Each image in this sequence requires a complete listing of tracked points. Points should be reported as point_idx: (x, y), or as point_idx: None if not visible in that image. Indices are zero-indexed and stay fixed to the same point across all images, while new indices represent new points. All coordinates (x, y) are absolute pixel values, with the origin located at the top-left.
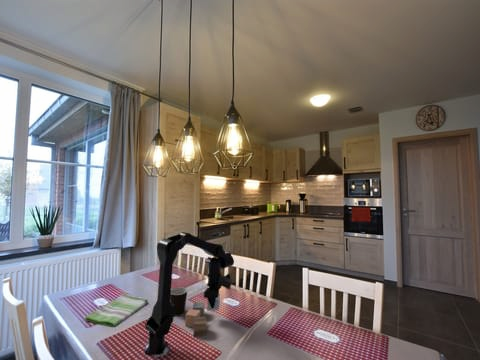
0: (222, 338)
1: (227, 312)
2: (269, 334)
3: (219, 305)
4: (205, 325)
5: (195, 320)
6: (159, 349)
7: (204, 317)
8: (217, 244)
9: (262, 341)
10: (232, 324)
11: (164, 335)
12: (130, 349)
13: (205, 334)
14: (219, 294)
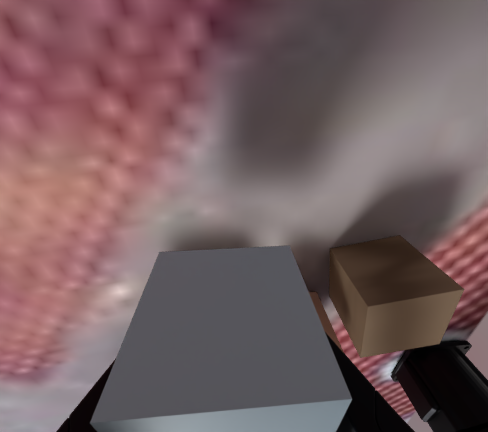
0: (466, 129)
1: (88, 133)
2: None
3: (177, 253)
4: (449, 280)
5: (400, 346)
6: (461, 358)
7: (377, 314)
8: None
9: None
10: (293, 56)
11: (483, 399)
12: (404, 396)
13: (404, 241)
14: (102, 426)
